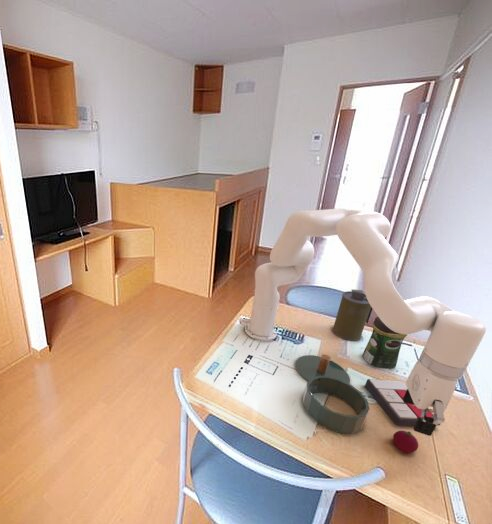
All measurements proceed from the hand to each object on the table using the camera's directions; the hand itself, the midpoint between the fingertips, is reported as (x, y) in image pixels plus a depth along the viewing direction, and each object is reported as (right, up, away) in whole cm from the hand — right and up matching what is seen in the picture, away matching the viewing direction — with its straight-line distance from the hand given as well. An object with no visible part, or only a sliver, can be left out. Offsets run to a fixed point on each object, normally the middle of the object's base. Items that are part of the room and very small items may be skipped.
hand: (415, 417), depth 77 cm
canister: (+18, +9, +52) cm, 55 cm away
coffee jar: (+18, +2, +35) cm, 39 cm away
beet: (0, -10, +4) cm, 11 cm away
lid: (-6, +1, +29) cm, 30 cm away
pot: (-12, -6, +15) cm, 20 cm away
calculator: (+9, -5, +17) cm, 20 cm away
